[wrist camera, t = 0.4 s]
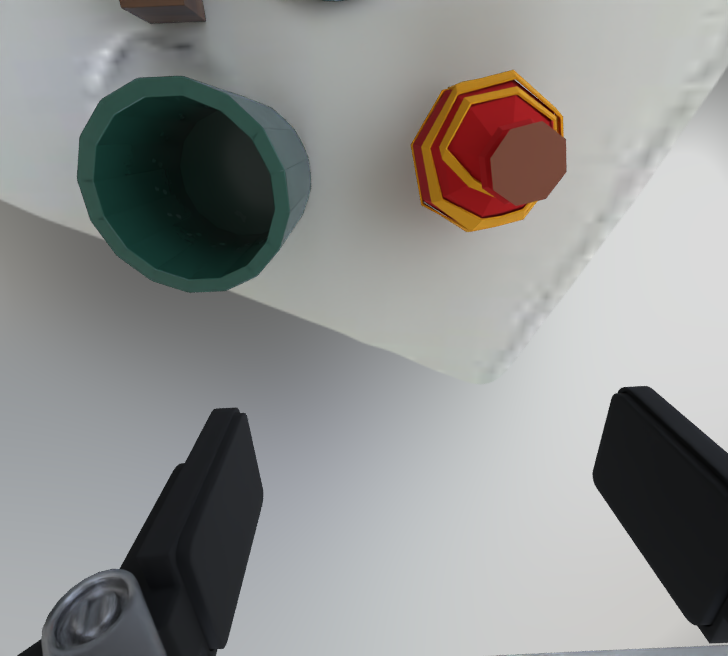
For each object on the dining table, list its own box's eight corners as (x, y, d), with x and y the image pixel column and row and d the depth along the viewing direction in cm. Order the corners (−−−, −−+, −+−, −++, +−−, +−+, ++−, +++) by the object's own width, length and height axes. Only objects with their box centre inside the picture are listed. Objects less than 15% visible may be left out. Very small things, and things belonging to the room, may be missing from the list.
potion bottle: (391, 205, 36) (412, 248, 23) (415, 71, 32) (459, 26, 18) (502, 223, 37) (586, 274, 24) (541, 95, 33) (671, 69, 19)
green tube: (156, 100, 32) (44, 81, 21) (303, 94, 32) (273, 71, 21) (190, 245, 38) (114, 296, 26) (316, 240, 38) (298, 288, 26)
